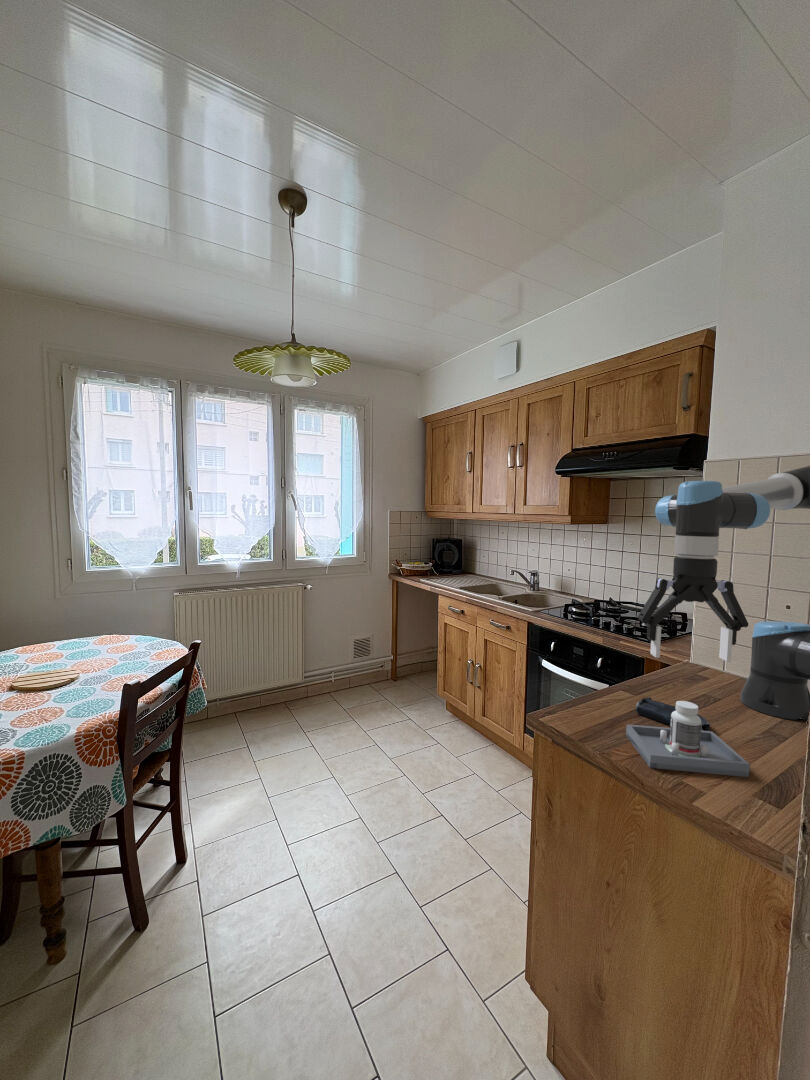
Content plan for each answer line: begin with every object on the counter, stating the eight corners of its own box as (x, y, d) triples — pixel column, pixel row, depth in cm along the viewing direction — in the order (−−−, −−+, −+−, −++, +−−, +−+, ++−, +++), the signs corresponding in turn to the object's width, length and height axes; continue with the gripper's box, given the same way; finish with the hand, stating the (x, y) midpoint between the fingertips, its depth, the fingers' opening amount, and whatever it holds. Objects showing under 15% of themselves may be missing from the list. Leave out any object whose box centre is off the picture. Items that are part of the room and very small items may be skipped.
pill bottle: (705, 755, 90) (709, 708, 90) (685, 758, 89) (688, 711, 88) (683, 742, 95) (685, 698, 95) (663, 744, 94) (665, 700, 93)
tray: (711, 742, 98) (712, 727, 97) (748, 777, 85) (750, 759, 84) (626, 735, 100) (626, 720, 100) (649, 767, 87) (650, 750, 87)
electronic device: (633, 722, 110) (702, 738, 99) (632, 699, 111) (700, 712, 100) (649, 717, 116) (715, 731, 105) (648, 695, 117) (714, 707, 106)
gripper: (749, 556, 92) (743, 655, 94) (624, 553, 96) (620, 648, 97) (774, 560, 85) (767, 667, 86) (638, 556, 88) (633, 659, 89)
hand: (689, 657), depth 92 cm, fingers open, 13 cm apart
